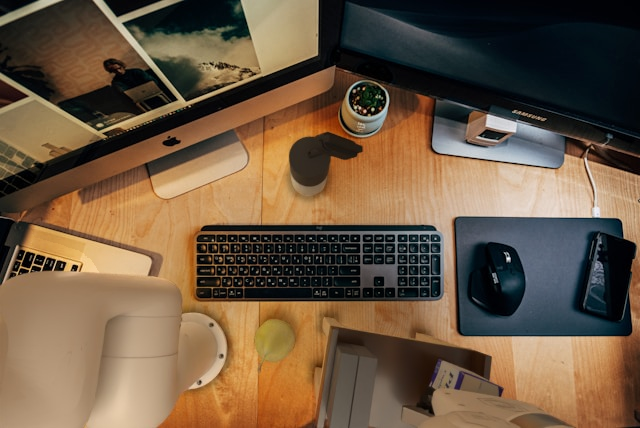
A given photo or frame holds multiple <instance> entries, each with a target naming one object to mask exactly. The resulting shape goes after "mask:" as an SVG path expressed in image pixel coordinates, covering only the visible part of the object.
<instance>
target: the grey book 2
mask: <svg viewBox="0 0 640 428" xmlns="http://www.w3.org/2000/svg"><path fill="white" fill-rule="evenodd" d="M350 346H351V347H352V348H353V349H354V351H355V352H356V353H357V354H358V355H359V360H358V366H357V373H356V380H355V387H354V393H353V400H352V407H351V414H350V420H349V427H348V428H369V427H368V425H369V418H370V411H371V404H372V397H373V390H374V382H375V375H376V368H377V361H378V359H377V358H376V357H375V356H374V355H373V354H372V353H371V352H370V351H369V350H368V349H367V348H366V347H364V346H359V345H353V344H350Z"/></svg>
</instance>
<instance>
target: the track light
mask: <svg viewBox="0 0 640 428" xmlns="http://www.w3.org/2000/svg"><path fill="white" fill-rule="evenodd" d="M363 152H364V146H363V145H361V144H359V143H356V141H355V140H352V139H350V138H347V137H344V136H341V135H339V134H336V133H333V132H330V131H325V132H322V133H319V134H316V135H314V136H310V135H309V136H304V137H301V138H298V139H297V140H295V142H294V143H293V144H292V145H291V146H290V149H289V153H288V159H289V160H288V162H289V171H290V178H291V185H292V187H293V188H294V190H295V191H296V192H297V193H299V194H300V195H302V196H307V197H312V196H316V195H318V194H320V193H321V192H322V191H323V190H324V188H325V187H326V184H327V181H328V175H329V170H330V166H331V162H332V157H333V158H336V159H339V160H341V161H347V160H352V159H353V158H354V159H355V158H357V157H358V154H360V153H363Z"/></svg>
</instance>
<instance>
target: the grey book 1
mask: <svg viewBox="0 0 640 428" xmlns="http://www.w3.org/2000/svg"><path fill="white" fill-rule="evenodd" d="M358 360H359V355H358V354H357V353H356V352H355V351H354V349H353V348H352V347H351V346H350V344H347V343H342V342H337V346H336V353H335V359H334V365H333V372H332V378H331V384H330V391H329V397H328V403H327V410H326V414H327V424H328V428H348V427H349V420H350V414H351V407H352V400H353V393H354V387H355V380H356V373H357V366H358Z"/></svg>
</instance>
